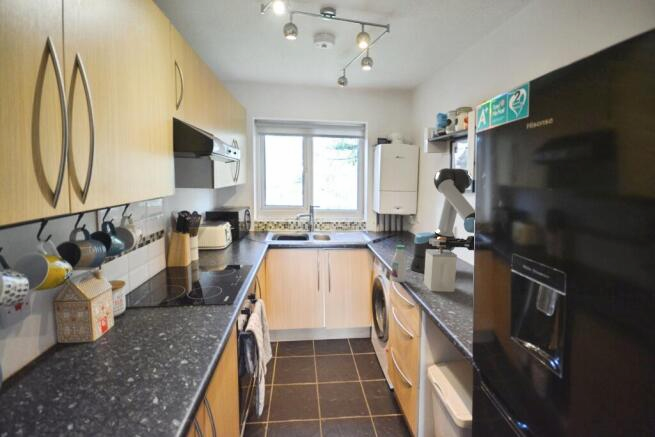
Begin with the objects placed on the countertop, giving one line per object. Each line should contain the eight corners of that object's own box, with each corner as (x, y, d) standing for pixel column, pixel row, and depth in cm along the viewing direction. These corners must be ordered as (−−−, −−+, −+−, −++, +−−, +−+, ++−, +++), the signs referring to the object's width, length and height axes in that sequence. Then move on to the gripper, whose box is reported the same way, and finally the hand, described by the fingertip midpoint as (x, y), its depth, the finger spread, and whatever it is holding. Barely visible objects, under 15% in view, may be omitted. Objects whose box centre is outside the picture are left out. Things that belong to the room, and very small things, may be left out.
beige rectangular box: (423, 283, 176) (426, 249, 173) (445, 284, 175) (448, 249, 173) (432, 293, 160) (435, 255, 158) (456, 294, 160) (459, 256, 158)
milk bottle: (404, 279, 183) (406, 244, 181) (406, 283, 176) (408, 247, 173) (391, 278, 184) (392, 244, 182) (392, 282, 176) (394, 246, 174)
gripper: (483, 254, 158) (436, 252, 159) (468, 246, 176) (425, 245, 176) (484, 239, 157) (437, 237, 158) (469, 233, 175) (426, 232, 175)
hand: (431, 242), depth 167 cm, fingers closed on plunger, 4 cm apart
